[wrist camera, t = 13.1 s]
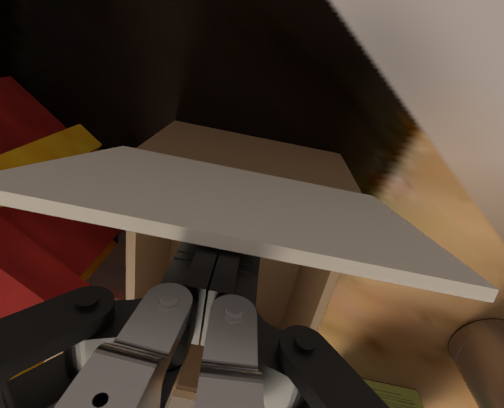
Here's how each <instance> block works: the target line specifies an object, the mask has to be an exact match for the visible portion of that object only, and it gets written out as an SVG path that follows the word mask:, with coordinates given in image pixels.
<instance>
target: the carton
mask: <svg viewBox="0 0 504 408" xmlns="http://www.w3.org/2000/svg"><path fill="white" fill-rule="evenodd" d="M137 149H142V150H147V151H152V152H157V153H162V154H167V155H172V156H177V157H182V158H187V159H192V160H197V161H202V162H207V163H212V164H217V165H222V166H227V167H232V168H237V169H242V170H247V171H252V172H257V173H262V174H267V175H272V176H277V177H282V178H287V179H292V180H297V181H302V182H307V183H312V184H317V185H322V186H327V187H332V188H337V189H342V190H346V191H351V192H356V193H361V191H360V189H359V187H358V185H357V183H356V182H355V180H354V178H353V176H352V174H351V172H350V171H349V169H348V167H347V165H346V163H345V161H344V160H343V158H342V156H341V154H339V153H334V152H329V151H324V150H319V149H314V148H309V147H304V146H299V145H294V144H289V143H284V142H279V141H274V140H269V139H264V138H259V137H254V136H249V135H244V134H239V133H234V132H229V131H224V130H219V129H215V128H210V127H205V126H200V125H195V124H190V123H185V122H180V121H174V122H172V123H171V124H169V125H168V126H166V127H165V128H164V129H162V130H161V131H159V132H158V133H157V134H155V135H154V136H152V137H151V138H150V139H148V140H147V141H145V142H144V143H142V144H141V145H140V146H138V147H137ZM361 194H362V193H361ZM181 243H182V241H177V240H172V239H167V238H162V237H157V236H152V235H147V234H142V233H137V232H132V231H127V230H126V300H132V299H139V298H142V297H144V296H145V294H146V293H147V292H148V290H150V289H151V288H152V287H154V286H156V285H159V284H161V282H162V280H163V278H164V276H165V274H166V272H167V270H168V268H169V266H170V264H171V262H172V260H173V259H174V256H175V254H176V252H177V250H178V248H179V246H180V244H181ZM339 275H340V273H339V272H334V271H329V270H324V269H318V268H313V267H308V266H303V265H298V264H293V263H288V262H283V261H278V260H273V259H268V258H263V257H260V264H259V274H258V286H257V297H256V308H257V311H258V313H259V315H260V316H261V317H262V319H263V320H265V321H266V322H267V323H268V324H270V325H272V326H274V327H276V328H278V329H280V330H282V331H283V330H285V329H286V328H287V327H290V326H293V325H302V326H306V327H309V328H312V329H313V330H315V331H317V332H318V329H319V327H320V324H321V321H322V319H323V316H324V314H325V311H326V309H327V306H328V303H329V301H330V298H331V296H332V293H333V290H334V288H335V285H336V283H337V280H338V278H339ZM202 332H203V330H202ZM201 339H202V334H201V337H200V341H199V345H195V344H191V346H190V349H189V352H188V355H187V358H186V359H185V365H184V368H183V371H182V373H181V376H180V378H179V381H178V384H177V386H176V389H179V390H184V391H189V392H194V393H197V387H198V381H199V374H200V368H201V363H202V357H203V350H204V346H202V345H201Z"/></svg>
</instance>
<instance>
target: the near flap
mask: <svg viewBox="0 0 504 408" xmlns="http://www.w3.org/2000/svg"><path fill="white" fill-rule="evenodd" d="M0 205H1V206H6V207H11V208H16V209H21V210H26V211H31V212H36V213H41V214H46V215H51V216H56V217H61V218H66V219H71V220H76V221H82V222H87V223H92V224H97V225H102V226H107V227H112V228H117V229H122V230H127V231H132V232H137V233H142V234H147V235H152V236H157V237H162V238H167V239H172V240H177V241H182V242H187V243H192V244H197V245H203V246H208V247H213V248H218V249H223V250H228V251H233V252H238V253H243V254H248V255H253V256H258V257H263V258H268V259H273V260H278V261H283V262H288V263H293V264H298V265H303V266H308V267H313V268H318V269H324V270H329V271H334V272H339V273H344V274H349V275H354V276H359V277H364V278H369V279H374V280H379V281H384V282H389V283H394V284H399V285H404V286H409V287H414V288H419V289H424V290H429V291H434V292H439V293H445V294H450V295H455V296H460V297H465V298H470V299H475V300H480V301H485V302H490V303H493V302H494V300H495V298H496V296H497V293H498V291H499V289H497V288H496V287H495V286H493V285H492V284H491V283H489V282H488V281H487V280H485V279H484V278H483V277H481V276H480V275H479V274H477V273H476V272H475V271H473V270H472V269H471V268H469V267H468V266H467V265H465V264H464V263H463V262H461V261H460V260H458V259H457V258H456V257H454V256H453V255H452V254H450V253H449V252H448V251H446V250H445V249H444V248H442V247H441V246H440V245H438V244H437V243H436V242H434V241H433V240H432V239H430V238H429V237H428V236H426V235H425V234H424V233H422V232H421V231H420V230H418V229H417V228H416V227H414V226H413V225H412V224H410V223H409V222H408V221H406V220H405V219H403V218H402V217H401V216H399V215H398V214H397V213H395V212H394V211H393V210H391V209H390V208H389V207H387V206H386V205H385V204H383V203H382V202H381V201H379V200H378V199H377V198H375V197H374V196H371V195H366V194H361V193H356V192H351V191H346V190H342V189H337V188H332V187H327V186H322V185H317V184H312V183H307V182H302V181H297V180H292V179H287V178H282V177H277V176H272V175H267V174H262V173H257V172H252V171H247V170H242V169H237V168H232V167H227V166H222V165H217V164H212V163H207V162H202V161H197V160H192V159H187V158H182V157H177V156H172V155H167V154H162V153H157V152H152V151H147V150H142V149H137V148H132V147H127V146H120V147H115V148H110V149H105V150H100V151H95V152H90V153H85V154H80V155H75V156H70V157H65V158H60V159H55V160H50V161H45V162H40V163H35V164H30V165H25V166H20V167H15V168H10V169H5V170H0Z"/></svg>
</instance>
